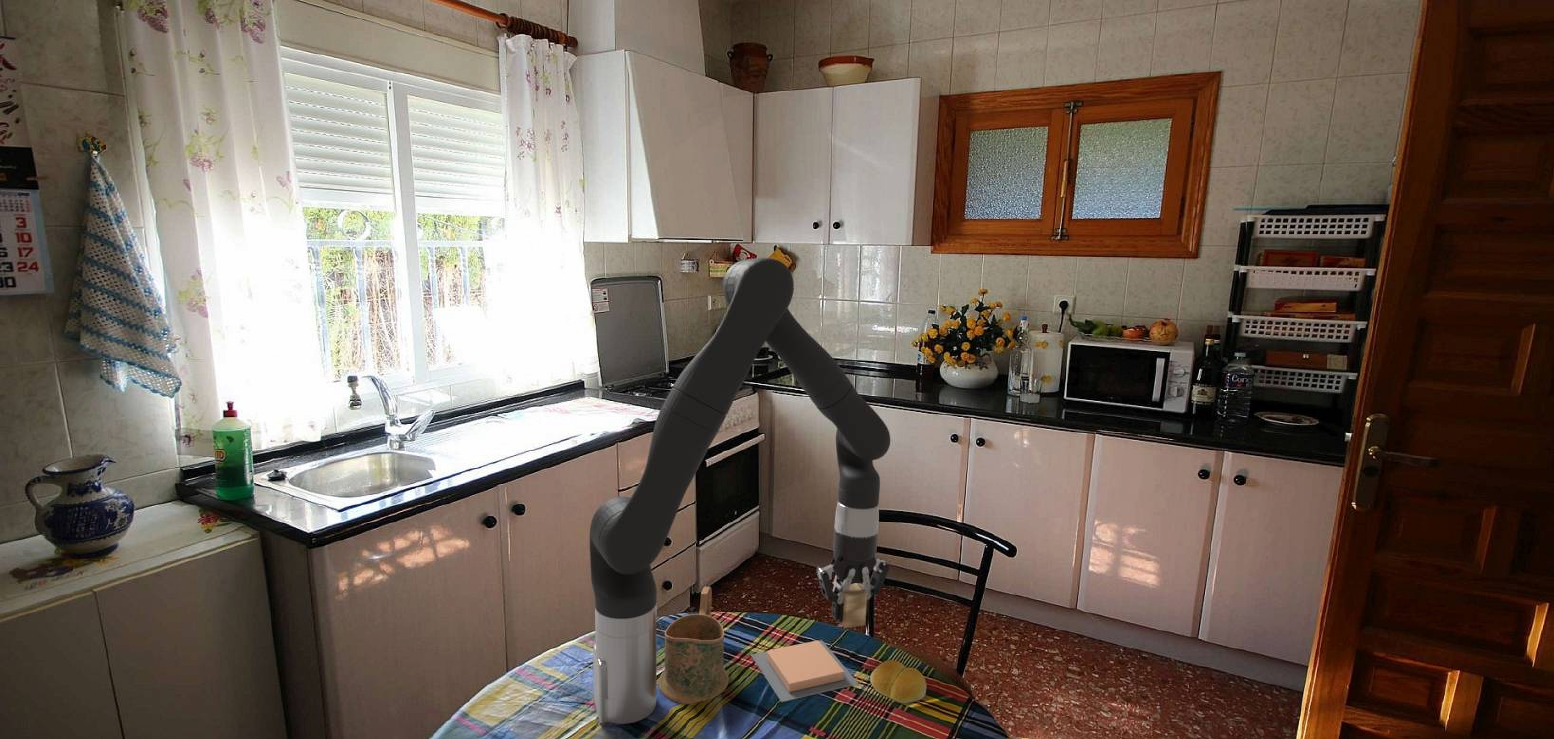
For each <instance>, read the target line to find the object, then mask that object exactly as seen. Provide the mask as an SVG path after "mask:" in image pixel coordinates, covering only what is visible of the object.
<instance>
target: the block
mask: <svg viewBox="0 0 1554 739" xmlns="http://www.w3.org/2000/svg"><path fill="white" fill-rule="evenodd" d="M843 604H844V610H843V622H842V623H839V624H840V625H841V626H842V627H843V629H851V628H856V627H862V626H865V625H866V618H867V615H866V605H867V592H866V591H863V589H862V588H861V587H860V586H858V585H857V583H854V584H851V585H850V588H849V591H848V592H846V594H845V598H844V601H843Z"/></svg>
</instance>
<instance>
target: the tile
mask: <svg viewBox="0 0 1554 739" xmlns="http://www.w3.org/2000/svg"><path fill="white" fill-rule="evenodd" d="M819 641H820V640H814V641H813V640H812V641H808V642H803V643H799V644H794V645H789V646H784V647H779V648H774V649H770V650H766V651H767V654H766V659H767V660H768V662H769V663H770V665H771V666H772V668H773V669H774V671H775V672H776V674H777V675H778V677H779V678H780V680H781V681H782V682H783V684H784V685H785V687H786V688H787V690H788V691H789V692H792V691H797V690H801V689H805V688H810V687H814V686H818V685H823V684H827V683H831V682H836V681H840V680H844V670H843V669H842V668H841V667H840V666H839V665H838V663H837V662H836V661H835V660H834V659H833V657H832V656H831V655H830V654H829V653H828V651H827V650H826V649H825V648H824V647H823V645H822V644H821V643H820V642H819Z"/></svg>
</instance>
